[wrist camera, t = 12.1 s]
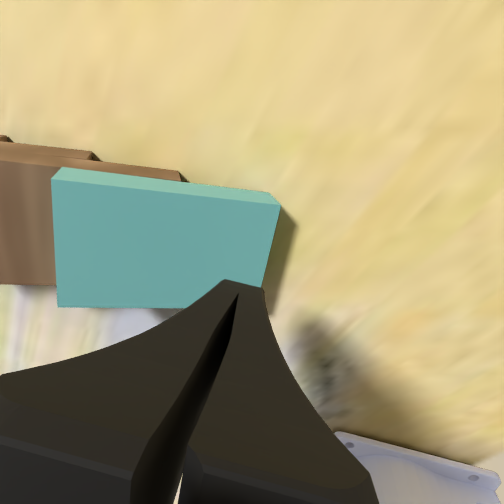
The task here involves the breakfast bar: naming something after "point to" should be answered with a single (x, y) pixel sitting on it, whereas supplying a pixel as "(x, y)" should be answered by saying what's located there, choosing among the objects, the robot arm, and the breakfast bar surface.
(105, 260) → the teal domino
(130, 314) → the breakfast bar surface
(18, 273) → the walnut domino
